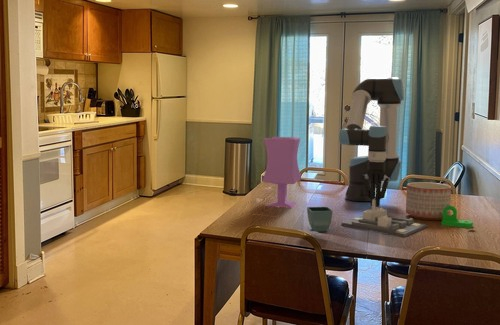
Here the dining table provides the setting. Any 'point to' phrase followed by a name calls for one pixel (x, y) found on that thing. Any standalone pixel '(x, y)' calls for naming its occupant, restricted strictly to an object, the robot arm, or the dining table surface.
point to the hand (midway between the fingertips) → (374, 213)
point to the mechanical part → (454, 219)
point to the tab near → (384, 221)
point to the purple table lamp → (282, 166)
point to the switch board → (397, 227)
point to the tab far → (380, 212)
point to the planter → (427, 200)
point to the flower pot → (319, 218)
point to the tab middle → (369, 215)
